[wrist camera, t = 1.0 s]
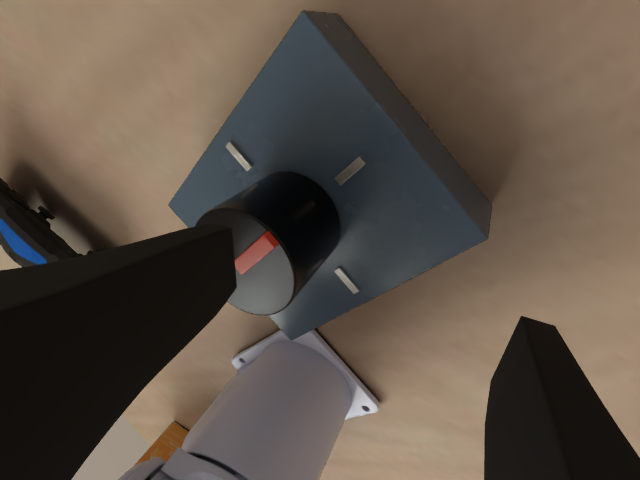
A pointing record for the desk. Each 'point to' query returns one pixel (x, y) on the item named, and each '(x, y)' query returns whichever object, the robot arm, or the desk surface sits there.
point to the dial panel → (343, 169)
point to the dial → (277, 238)
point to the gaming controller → (29, 232)
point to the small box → (166, 443)
